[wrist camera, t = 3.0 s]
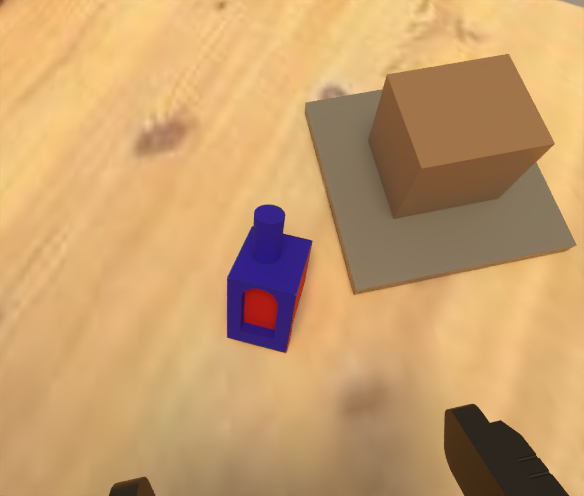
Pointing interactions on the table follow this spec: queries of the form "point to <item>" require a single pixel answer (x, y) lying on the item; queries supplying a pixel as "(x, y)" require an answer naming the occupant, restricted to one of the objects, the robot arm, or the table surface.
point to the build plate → (422, 233)
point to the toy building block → (266, 282)
